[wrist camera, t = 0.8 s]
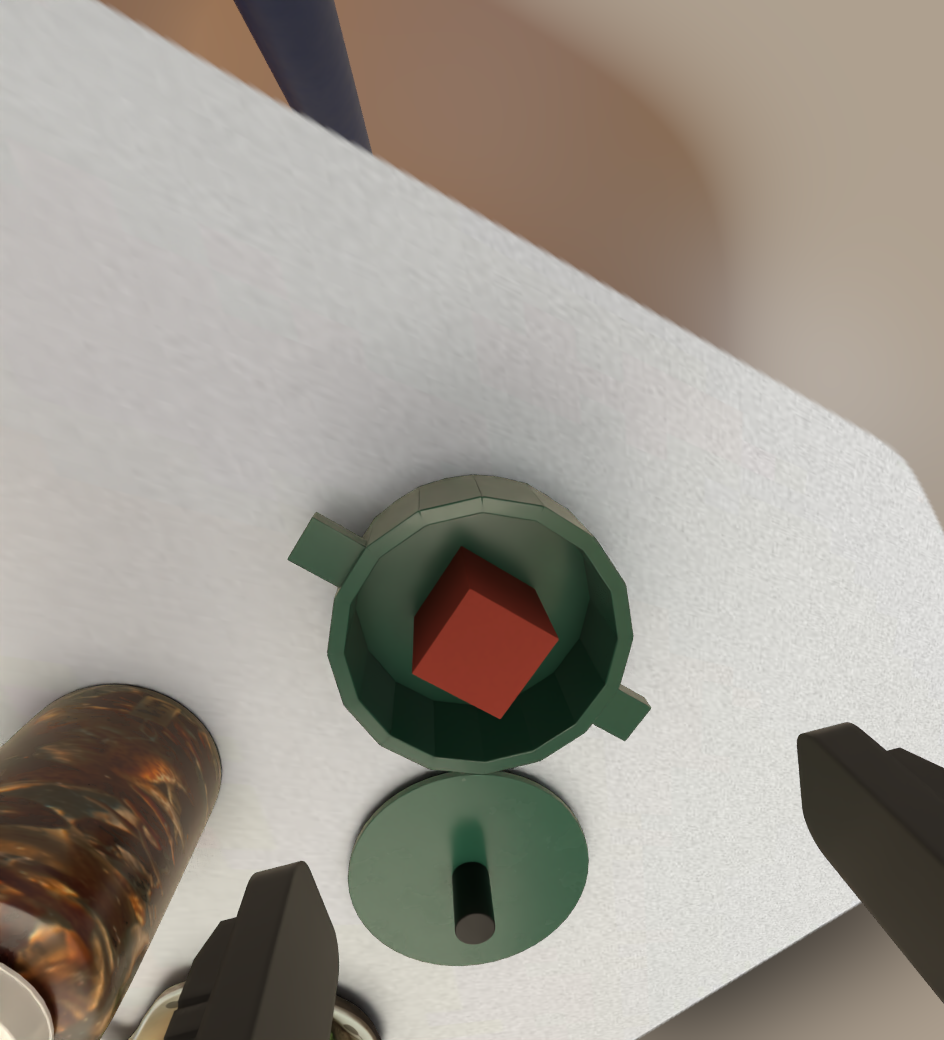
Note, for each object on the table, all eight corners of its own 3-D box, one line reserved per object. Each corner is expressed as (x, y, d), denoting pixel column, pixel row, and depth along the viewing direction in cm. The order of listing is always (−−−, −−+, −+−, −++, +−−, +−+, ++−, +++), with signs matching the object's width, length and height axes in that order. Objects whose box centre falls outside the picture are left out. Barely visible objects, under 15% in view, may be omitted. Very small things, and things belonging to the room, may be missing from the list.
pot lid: (430, 723, 35) (432, 778, 30) (629, 822, 38) (657, 885, 34) (306, 900, 38) (290, 974, 33) (501, 978, 41) (510, 1055, 36)
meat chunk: (461, 545, 31) (469, 588, 25) (535, 589, 32) (559, 639, 27) (413, 617, 32) (411, 674, 26) (487, 657, 33) (500, 719, 27)
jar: (-21, 712, 32) (-383, 1002, 18) (182, 662, 32) (-12, 908, 18) (68, 870, 35) (-174, 1221, 21) (251, 824, 36) (136, 1140, 21)
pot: (387, 394, 29) (380, 402, 24) (683, 581, 33) (731, 623, 28) (253, 618, 32) (220, 669, 27) (543, 765, 36) (563, 834, 31)
